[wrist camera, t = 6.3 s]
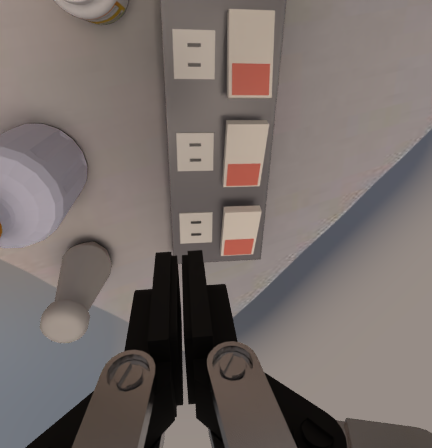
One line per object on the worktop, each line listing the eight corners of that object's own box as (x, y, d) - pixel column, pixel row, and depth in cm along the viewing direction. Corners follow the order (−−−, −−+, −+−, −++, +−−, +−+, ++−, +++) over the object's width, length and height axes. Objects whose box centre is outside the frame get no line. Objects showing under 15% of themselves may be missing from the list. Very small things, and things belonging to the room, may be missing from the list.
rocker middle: (226, 120, 31) (227, 124, 30) (266, 120, 32) (269, 124, 31) (222, 182, 36) (223, 187, 35) (257, 181, 36) (259, 186, 35)
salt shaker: (60, 263, 42) (18, 343, 30) (76, 228, 40) (38, 299, 28) (104, 279, 44) (80, 359, 32) (122, 246, 42) (103, 320, 30)
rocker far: (223, 206, 35) (225, 213, 34) (259, 205, 36) (261, 212, 35) (219, 249, 40) (220, 256, 39) (251, 248, 40) (253, 254, 40)
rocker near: (227, 12, 28) (229, 8, 27) (271, 14, 29) (275, 10, 28) (226, 98, 30) (228, 97, 29) (268, 98, 31) (271, 97, 30)
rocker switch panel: (160, -8, 30) (159, -15, 26) (277, -3, 31) (289, -9, 28) (173, 250, 43) (173, 267, 40) (255, 246, 44) (261, 262, 41)
